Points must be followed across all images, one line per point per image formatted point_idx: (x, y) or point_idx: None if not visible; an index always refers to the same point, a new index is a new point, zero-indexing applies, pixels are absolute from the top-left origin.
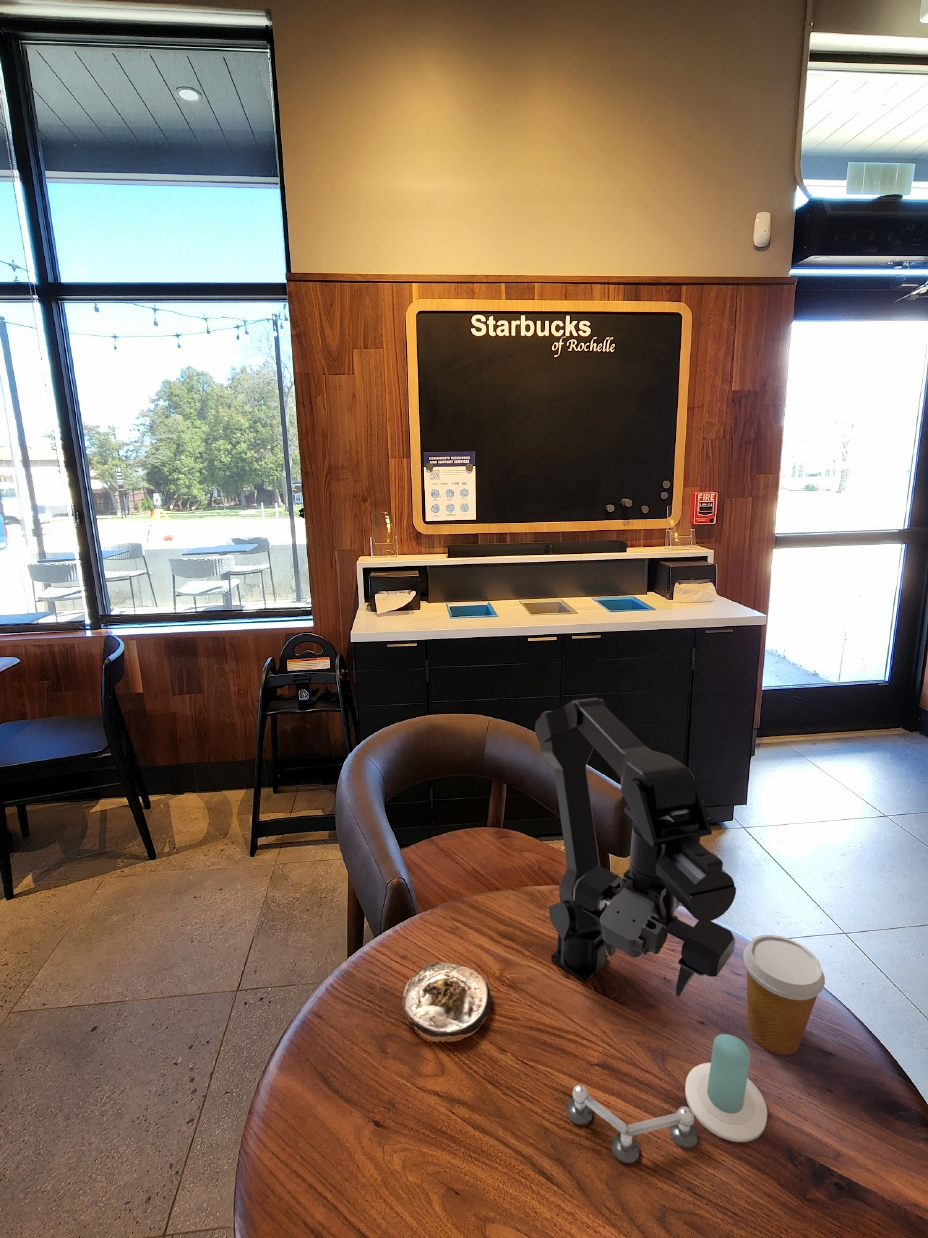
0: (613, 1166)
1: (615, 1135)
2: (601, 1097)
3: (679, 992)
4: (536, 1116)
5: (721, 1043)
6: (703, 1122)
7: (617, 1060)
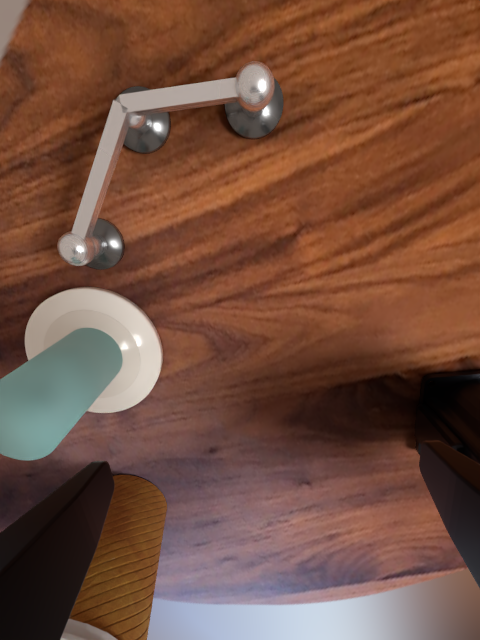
0: (135, 69)
1: (168, 123)
2: (243, 180)
3: (75, 480)
4: (316, 5)
5: (39, 421)
6: (88, 288)
7: (270, 276)
